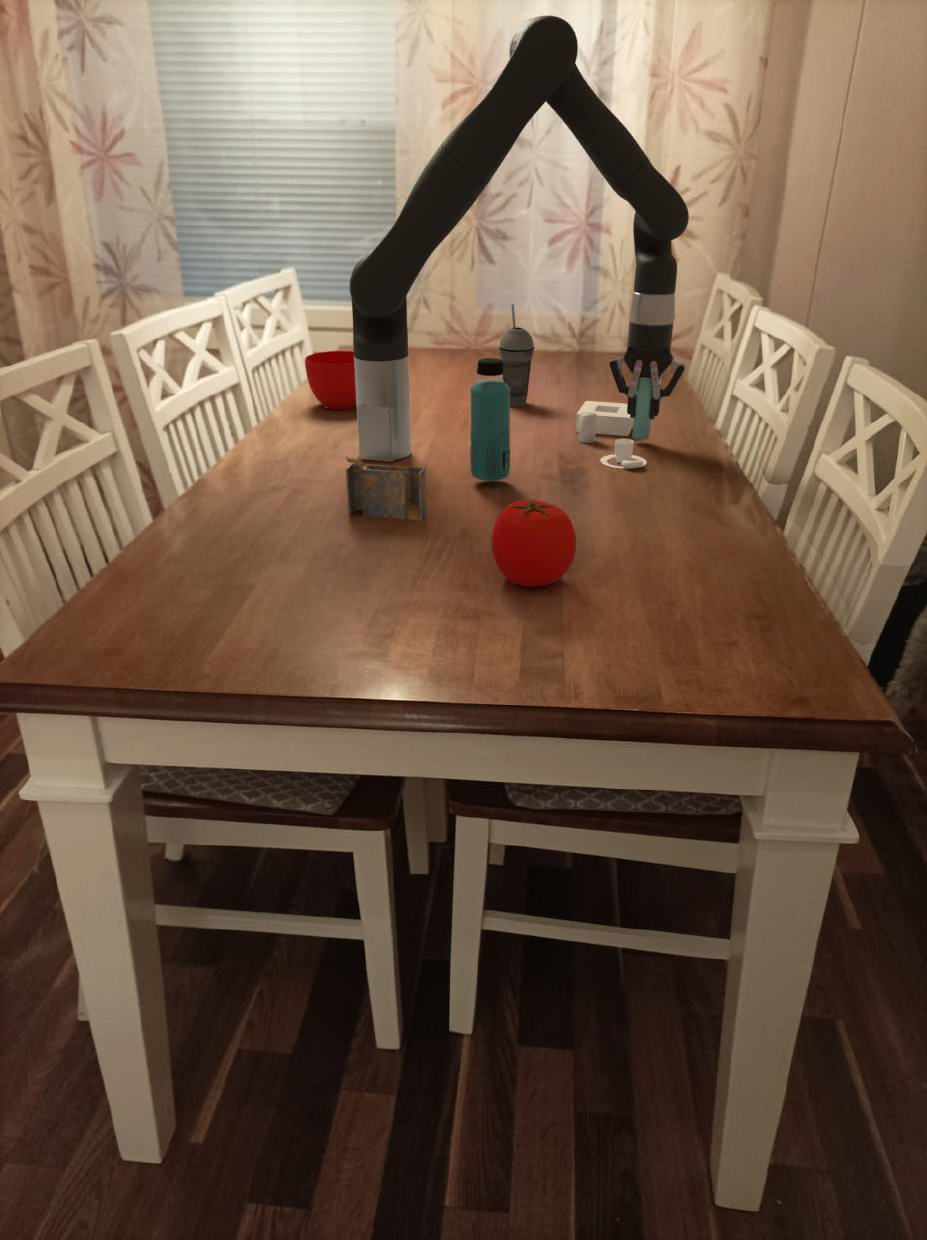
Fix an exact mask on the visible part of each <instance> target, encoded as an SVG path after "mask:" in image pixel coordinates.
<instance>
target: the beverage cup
mask: <svg viewBox="0 0 927 1240" xmlns="http://www.w3.org/2000/svg"><path fill="white" fill-rule="evenodd" d="M511 317H512V327H510V328H509V329H507V330H506V331H505V332H504V333H503V334H502V336H501V338H500V342H499V345H498V349H499V356H500V359H501V360H502V361H503V369H504V373H503V374H502V375H501V376H502V381H504V382H505V383H506V384H507V385H508V386H509V387H510V407H515V408H519V407H524V406H527V400H528V399H527V398H528V394H529V393H528V392H529V383H530V376H531V375H530V374H531V365H532V359H533V357H534V356H533V355H534V350H535V346H534V339H533V337H532V335H531V334H530V332H528V331H527V329H525V328H523V327H520V326H519V327H516V313H515V305H514V304H511Z"/></svg>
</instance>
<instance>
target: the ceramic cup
mask: <svg viewBox="0 0 927 1240" xmlns="http://www.w3.org/2000/svg"><path fill="white" fill-rule="evenodd" d="M304 366H305V373H306V378H307V382H308V385H309V388H310V390H311V392H312V394H313V395H314V397H315V398H316V399H317V400H318V402H319V403H320V404H321V405H322V406H323V407H324V406H325V407H327V408H330V409H329V410H333V409H337V410H338V409H339V410H338V411H340V410H341V409H343V410H349V409H352V408H355V407H357V405H356V386H355V366H354V350H352V351H351V350H330V351H329V350H328V351H321V352H315V353H312V354H309V355H307V356H305V358H304ZM325 407H324V408H325ZM327 408H326V409H327ZM337 410H336V411H337Z"/></svg>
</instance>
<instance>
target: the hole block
mask: <svg viewBox="0 0 927 1240" xmlns="http://www.w3.org/2000/svg"><path fill="white" fill-rule="evenodd" d="M627 404H628V403H623V402H622V403H620V402H609V401H608V402H605V401H594V400H592V401H591V400H585V402H584V403H583V404H582V405H581V407H580V408H579V410H578V411H577V413H576V417H575V432H576V433H579V421H580V413H582V412H593V413H596V429H595V435H596V434H597V435H610V436H621V437H629V435H630V433H631V431H633V424H634V418H630V414H628V413H627Z"/></svg>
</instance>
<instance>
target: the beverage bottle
mask: <svg viewBox="0 0 927 1240" xmlns="http://www.w3.org/2000/svg"><path fill="white" fill-rule="evenodd" d="M503 373H504V369H503V361H502V360H501V358H495V357H486V358H480V359H478V361H477V368H476V374H477V375H478V376H479V375H480V376H484V377H485V376H486V377H495V376H496V377H498V376H502V374H503ZM510 407H511V406H510V387H509V386H508V385H507V384H506V383H505V382H504V381H503V379H498V378H497V379H496V378H483V379H478V380H477V381H476V382H474V384H473V385H472V386H471V387H470V431H469V435H470V439H469V440H470V441H469V442H470V446H469V448H470V454H469V455H470V458H469V460H470V462H469V464H470V473H471V476H472V477H473V478H475V479H477V480H481V481H489V482H491V481H492V482H493V481H500V480H504V479H507V478H508V477H509V474H510V470H511V445H510V444H511V429H510V428H511V422H512V421H511V420H512V419H511V409H510Z"/></svg>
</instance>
